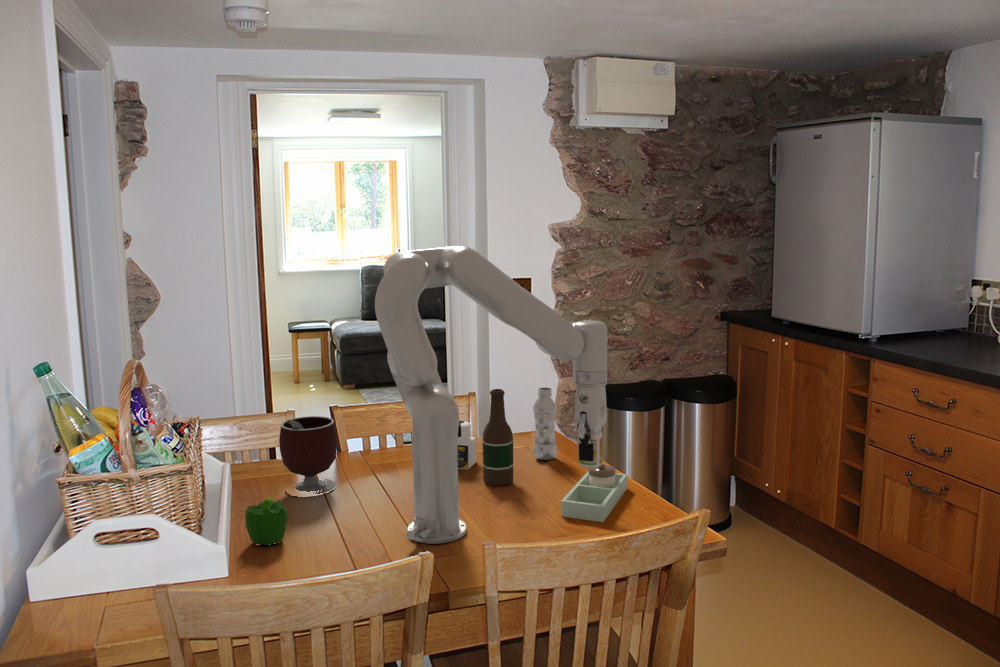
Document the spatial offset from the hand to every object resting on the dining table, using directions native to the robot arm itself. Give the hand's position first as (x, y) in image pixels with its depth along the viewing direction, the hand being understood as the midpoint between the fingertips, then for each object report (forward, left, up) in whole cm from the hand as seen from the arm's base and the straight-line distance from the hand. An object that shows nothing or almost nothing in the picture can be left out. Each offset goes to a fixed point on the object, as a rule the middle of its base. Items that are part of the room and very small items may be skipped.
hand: (590, 455), depth 169 cm
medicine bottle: (+21, +43, -14) cm, 50 cm away
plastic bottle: (+34, +23, -14) cm, 43 cm away
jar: (+11, 0, -13) cm, 17 cm away
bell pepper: (-39, +59, -14) cm, 72 cm away
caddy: (+5, 0, -14) cm, 15 cm away
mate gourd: (-10, +70, -14) cm, 72 cm away
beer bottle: (+12, +28, -14) cm, 33 cm away
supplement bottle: (0, 0, -2) cm, 2 cm away
